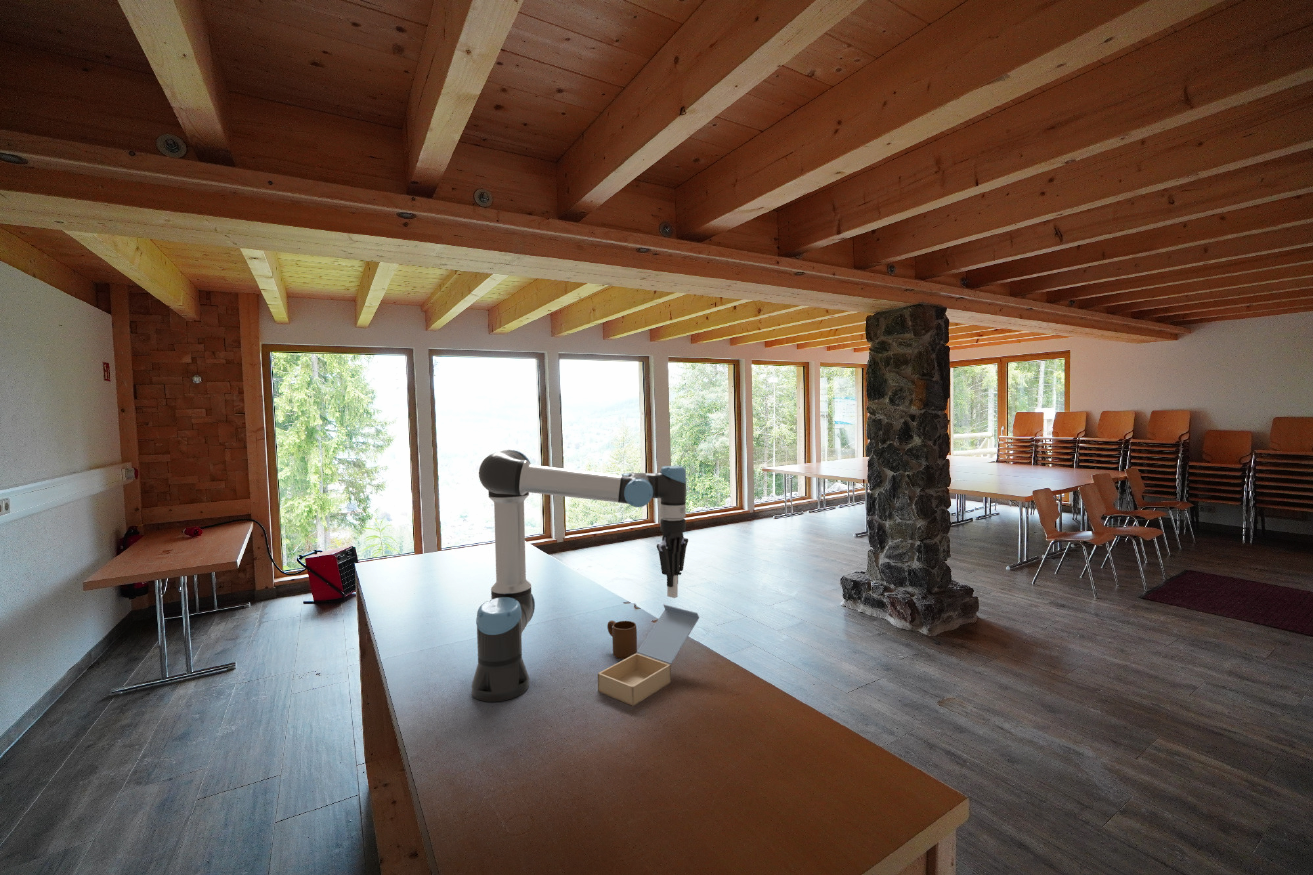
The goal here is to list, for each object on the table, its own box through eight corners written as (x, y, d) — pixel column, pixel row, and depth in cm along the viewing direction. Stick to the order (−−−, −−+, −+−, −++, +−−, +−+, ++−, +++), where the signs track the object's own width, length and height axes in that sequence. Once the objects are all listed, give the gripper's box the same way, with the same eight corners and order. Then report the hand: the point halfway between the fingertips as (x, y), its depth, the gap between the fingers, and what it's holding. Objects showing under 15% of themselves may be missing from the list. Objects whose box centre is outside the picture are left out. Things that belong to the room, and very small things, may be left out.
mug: (599, 650, 175) (598, 621, 175) (617, 643, 180) (617, 615, 180) (623, 662, 166) (622, 631, 166) (642, 654, 172) (641, 624, 171)
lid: (697, 612, 163) (699, 617, 164) (663, 604, 171) (666, 608, 172) (668, 659, 152) (671, 664, 153) (634, 647, 160) (637, 652, 161)
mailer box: (633, 706, 141) (632, 687, 141) (597, 691, 149) (597, 673, 149) (670, 682, 153) (670, 664, 153) (636, 669, 161) (636, 653, 161)
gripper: (669, 522, 156) (669, 604, 157) (695, 516, 166) (695, 593, 167) (649, 519, 161) (648, 599, 162) (676, 513, 171) (675, 588, 172)
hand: (672, 596), depth 164 cm, fingers closed
